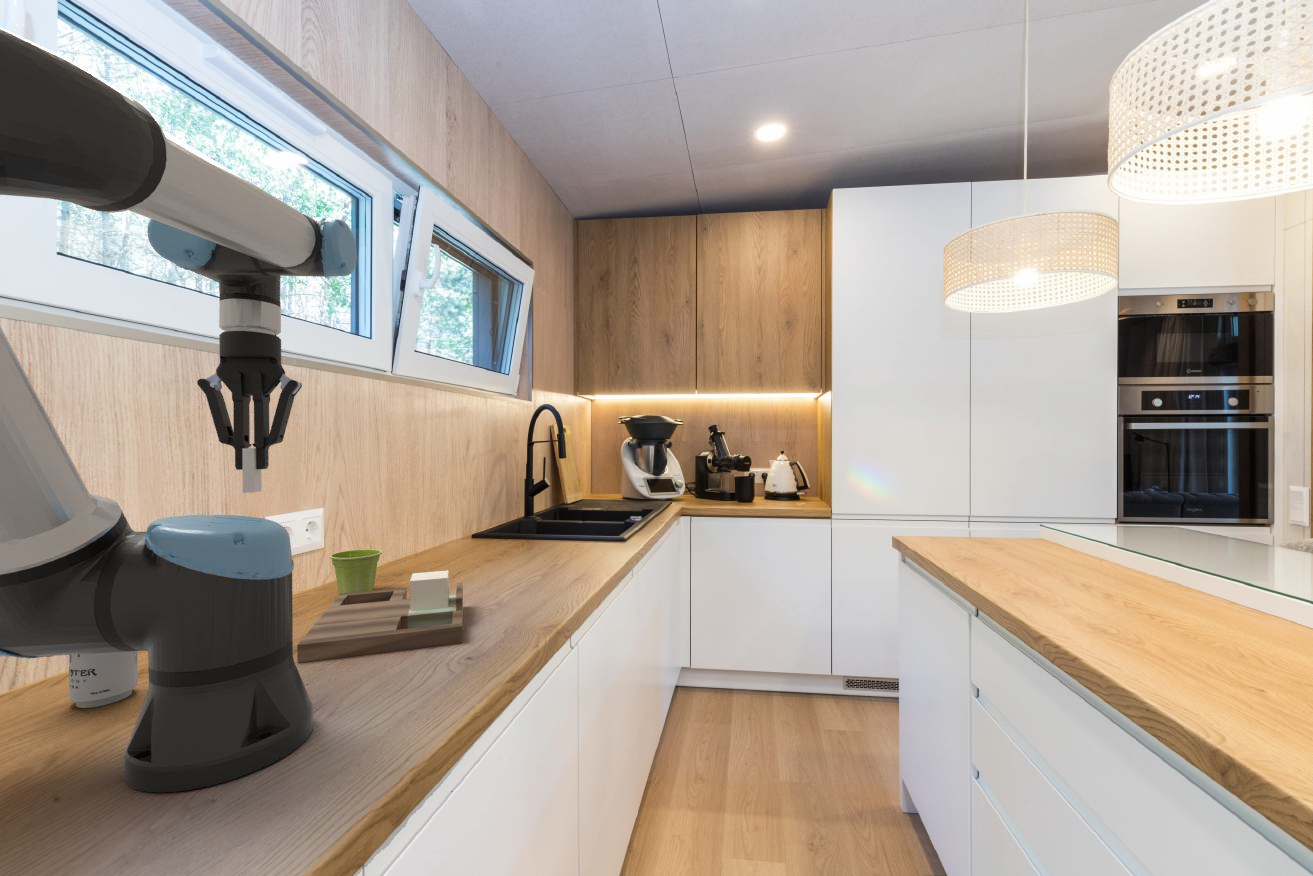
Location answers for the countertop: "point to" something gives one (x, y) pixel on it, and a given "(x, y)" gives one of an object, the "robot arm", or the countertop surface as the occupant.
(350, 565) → the plant pot
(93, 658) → the energy drink can
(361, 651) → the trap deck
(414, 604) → the block
